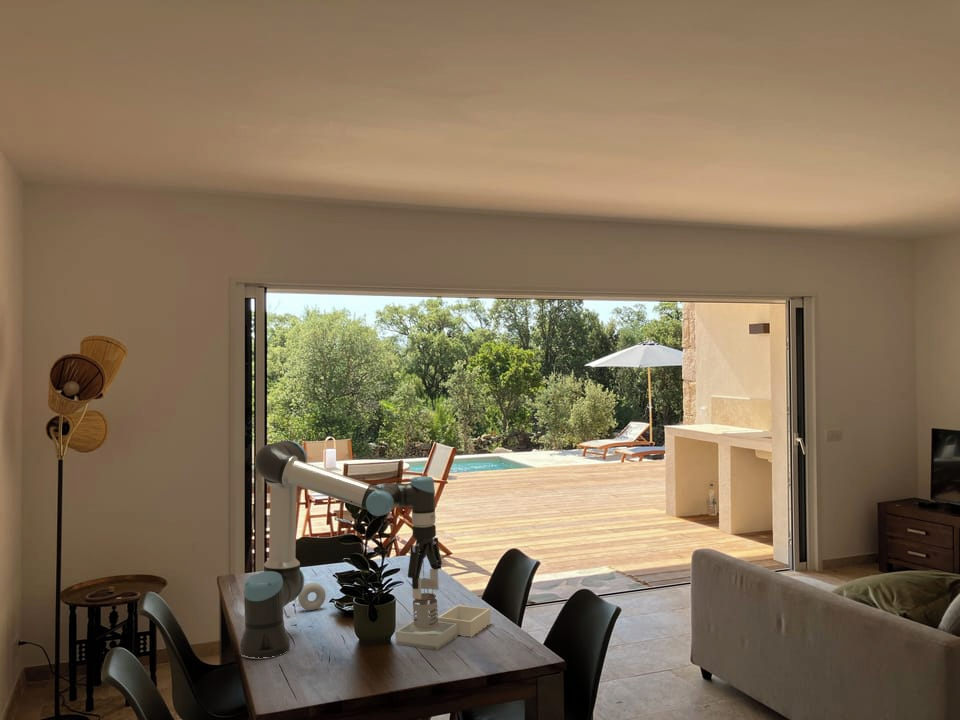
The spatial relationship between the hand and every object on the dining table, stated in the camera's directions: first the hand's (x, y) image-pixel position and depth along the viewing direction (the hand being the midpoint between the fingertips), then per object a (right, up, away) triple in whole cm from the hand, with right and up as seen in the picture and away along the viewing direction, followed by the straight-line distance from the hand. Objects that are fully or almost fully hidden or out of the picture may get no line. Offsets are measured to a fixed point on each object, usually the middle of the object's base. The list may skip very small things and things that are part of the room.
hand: (426, 593), depth 245 cm
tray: (0, -15, 0) cm, 15 cm away
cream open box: (+12, -15, +10) cm, 22 cm away
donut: (-44, -17, +35) cm, 59 cm away
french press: (0, -10, 0) cm, 10 cm away
